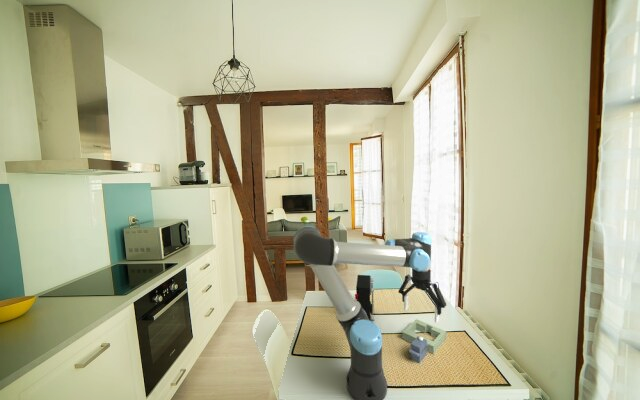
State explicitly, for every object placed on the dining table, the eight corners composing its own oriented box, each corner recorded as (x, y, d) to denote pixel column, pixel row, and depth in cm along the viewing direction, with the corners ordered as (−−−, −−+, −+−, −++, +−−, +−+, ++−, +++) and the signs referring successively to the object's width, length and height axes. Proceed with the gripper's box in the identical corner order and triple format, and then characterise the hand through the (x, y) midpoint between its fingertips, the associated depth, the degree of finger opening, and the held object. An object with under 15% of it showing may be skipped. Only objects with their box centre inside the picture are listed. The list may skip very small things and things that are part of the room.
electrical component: (374, 324, 132) (374, 288, 130) (355, 322, 134) (354, 287, 132) (373, 307, 149) (373, 275, 147) (357, 305, 151) (356, 274, 149)
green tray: (433, 354, 108) (433, 346, 108) (402, 338, 119) (402, 331, 119) (446, 338, 119) (446, 331, 118) (416, 325, 130) (416, 319, 129)
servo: (418, 365, 102) (418, 347, 102) (409, 360, 105) (409, 343, 105) (428, 352, 110) (428, 336, 109) (419, 348, 112) (420, 332, 112)
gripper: (455, 273, 99) (454, 322, 101) (398, 259, 117) (398, 301, 119) (449, 278, 94) (448, 330, 96) (390, 263, 112) (390, 307, 114)
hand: (420, 314), depth 107 cm, fingers open, 13 cm apart
